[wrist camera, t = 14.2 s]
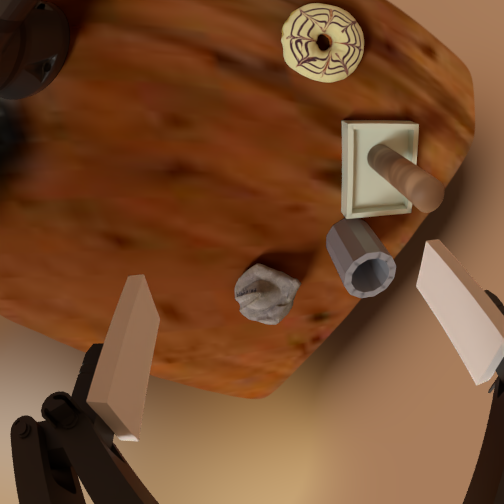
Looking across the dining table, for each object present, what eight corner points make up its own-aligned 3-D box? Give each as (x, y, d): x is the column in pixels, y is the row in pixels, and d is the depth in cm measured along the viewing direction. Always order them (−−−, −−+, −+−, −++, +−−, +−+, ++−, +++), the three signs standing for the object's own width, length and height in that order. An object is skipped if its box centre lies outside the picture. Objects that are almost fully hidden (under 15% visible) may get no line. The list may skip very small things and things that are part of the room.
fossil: (265, 242, 50) (271, 272, 44) (307, 269, 54) (318, 301, 47) (223, 288, 55) (222, 322, 48) (265, 311, 58) (269, 344, 51)
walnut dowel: (366, 144, 42) (417, 165, 29) (391, 143, 42) (447, 165, 29) (366, 180, 44) (414, 215, 32) (390, 179, 44) (443, 212, 32)
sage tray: (341, 120, 41) (347, 123, 39) (410, 120, 41) (418, 124, 39) (341, 211, 48) (346, 219, 46) (404, 206, 48) (411, 212, 46)
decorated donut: (275, 75, 37) (279, 76, 34) (282, 0, 32) (287, -5, 28) (351, 86, 38) (361, 89, 35) (359, 15, 33) (370, 12, 29)
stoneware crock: (326, 220, 49) (346, 255, 40) (372, 215, 49) (399, 249, 40) (325, 261, 53) (342, 301, 44) (368, 256, 53) (391, 293, 44)
